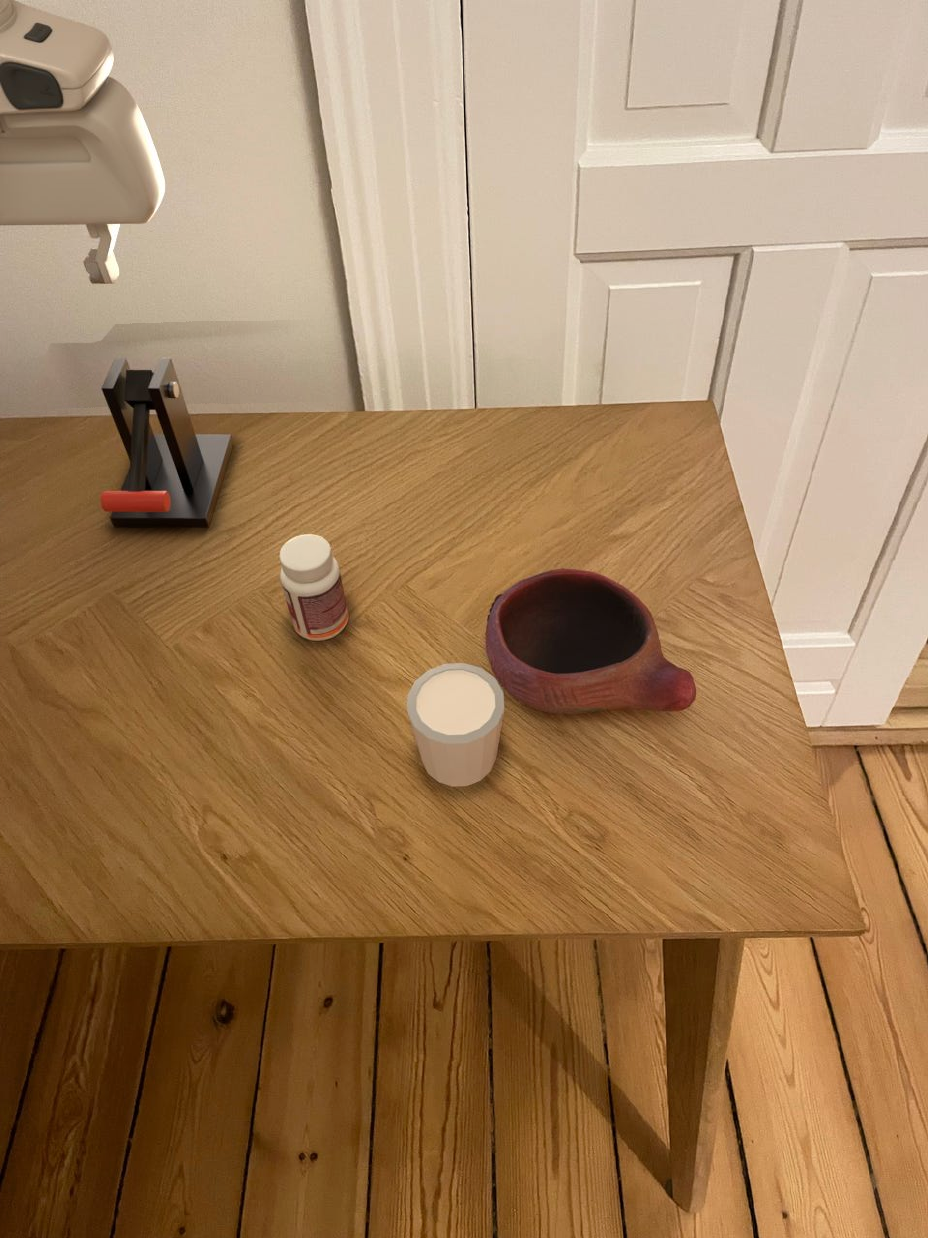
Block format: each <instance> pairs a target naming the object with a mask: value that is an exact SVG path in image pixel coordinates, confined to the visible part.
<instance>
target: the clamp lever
mask: <svg viewBox="0 0 928 1238" xmlns="http://www.w3.org/2000/svg"><path fill="white" fill-rule="evenodd" d="M153 374H154V371H153V370H152V369H130V370H126V381H125V397H124V401H125V402H127V403H128V404H129V405H130V406H131V407H132V408H133V424H132V441H131V457H130V460H129V468H130V474H129V490H128V491H121V490H104V491H102V493H101V495H100V504H101V506H100V507H101V509H102V510H103V512H106V513H112V512H168V511H169V510H170V506H171V499H170V495H169V493H168V492H167V491H145V482H146V465H147V448H148V431H149V423H150V415H151V413H150V412H151V411H155V408H154V405H153V402H152V399H151V397H150V394H149V391H148V387H149V384H150V382H151V379H152V377H153Z"/></svg>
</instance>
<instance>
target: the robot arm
mask: <svg viewBox="0 0 928 1238" xmlns="http://www.w3.org/2000/svg"><path fill="white" fill-rule="evenodd" d="M113 65H114V52H113V48H112V45H111V42H110V40H109V37H108V36H107V35H106V34H105V32H103V31H102V30H101V29H99V28H97V27H94V26H91V25H88V24H85V23H82V22H79V21H75V20H72V19H68V18H65V17H62V16H59V15H56V14H53V13H50V12H47V11H44V10H41V9H38V8H35V7H34V6H30V5H27V4H25V3H22V2H20V1H17V0H0V226H58V225H59V226H65V225H66V226H67V225H68V226H69V225H72V226H75V225H76V226H77V225H78V226H79V225H85V227H86V229H87V231H88V235H89V237H90V238H91V239H99V242H98V246H97V247H95V248H90V250H89V252H88V253H87V255H88V256H86V257H85V259H84V260H83V265H84V269H85V271H86V273H87V274H89V276H88V279H89V282H90V283H91V284H92V285H113V284H115V283H116V282H117V280H118V278H119V276H120V269H119V265H118V262H117V259H116V256H115V253H114V249H115V244H116V241H117V237H118V233H119V229H120V225H144V224H147V223H148V222H150V220H151V219H152V217H154V215H155V213H156V212H157V210H158V209H159V206H160V205H161V203H162V200H163V198H164V196H165V192H166V191H165V190H166V182H165V177H164V173H163V170H162V165H161V162H160V159H159V156H158V153H157V150H156V147H155V145H154V141H153V139H152V136H151V134H150V131H149V129H148V126H147V124H146V121H145V119H144V116H143V114H142V112H141V110H140V107H139V105H138V103H137V102H136V100H135V98H134V97H133V96H132V94H131V93H130V91H129V90H128V89H127V88H126V87H125V85H123V84H122V83H121V82H120V81H118V80H117V79H115V78H113V77H111V76H110V75H109V74H110V72H111V70H112V68H113Z"/></svg>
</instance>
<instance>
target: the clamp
mask: <svg viewBox="0 0 928 1238" xmlns="http://www.w3.org/2000/svg"><path fill="white" fill-rule="evenodd" d="M130 367H131V366H130V365H129V362H128V359H127V357H116V358H114V360H113V362H112V365H111V367H110V369H109V370H108V373H107V376H106V377H105V380H104V381H103V384H102V386H101V392H102V395H103V396H104V399H105V401H106V404H107V407H108V410H109V411H110V414H111V417H112V419H113V422H114V424H115V427H116V429H117V431H118V434H119V436H120V440H121V442H122V445H123V447H124V449H125V452H126V454H127V457H128V460H129V461H130V457H131V441H132V424H133V408H132V407H131V406H130V405H129V404H128V403H127V402H125V401H124V397H125V381H126V370H131V368H130ZM153 373H154V374H153V377H152V379H151V382H150V384H149V387H148V391H149V394H150V397H151V399H152V402H153V405H154V408H155V410H154V411H155V414H156V416H157V420H158V422H159V425H160V427H161V430H162V433H154V431H153V428H152V425H151V423H150V422H149V431H148V448H147V465H146V482H145V491H167V492H168V493H169V495H170V499H171V506H170V510H169V511H168V512H111V513H110V517H109V519H110V522H111V524H112V527H114V528H186V529H187V528H191V529H192V528H195V529H196V528H198V529H199V528H200V529H203V528H204V529H205V528H207V529H208V528H210V525H211V521H212V518H213V515H214V511H215V509H216V504H217V501H218V498H219V494H220V490H221V487H222V484H223V482H224V477H225V474H226V471H227V467H228V464H229V461H230V457H231V454H232V451H233V448H234V444H235V442H234V439H233V435H232V434H231V433H225V434H222V433H212V434H210V433H207V434H206V433H198V434H197V433H195V429H194V426H193V422H192V420H191V416H190V414H189V410H188V407H187V403H186V401H185V397H184V395H183V391H182V388H181V384H180V381H179V378H178V375H177V372H176V370H175V366H174V363H173V360H172V358H171V357H160V358H159V360H158V362H157V365H156V367H155V370H154V371H153ZM129 474H130V467H129V468H128V471H127V473H126V476H125V479H124V481H123V484H122V485H121V487H120V488H121V489H120V491H128V490H129Z"/></svg>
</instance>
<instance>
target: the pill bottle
mask: <svg viewBox="0 0 928 1238" xmlns="http://www.w3.org/2000/svg"><path fill="white" fill-rule="evenodd" d="M279 562H280V565H281V569H280V574H279V579H280V584H281V587H282V591H283V594H284V599H285V601H286V605H287V608H288V612H289V615H290V620H291V622H292V626H293V629H294V630H295V633H297V634H298V635H299V636H301V637H302V638H303V639H306V640H308V641H313V642H314V641H315V642H321V641H327V640H329V639H332V638H334V637H336V636H337V635H339V634H340V633H341V632H342V631H343V630H344V629H345V628H346V626H347V624H348V622H349V610H348V605H347V599H346V595H345V589H344V584H343V580H342V574H341V570H340V566H339V562H338V561H337V560H336V558H335V557H334V555H333V552H332V548H331V545H330V543H329V542H328V540H327V539H325V538H324V537H323V536H321V535H317V534H312V533H307V534H306V533H305V534H300V535H296V536H294V537H292V538H290V539H289V540H287V541H286V542H285V543H284V544H283V545H282V547H281V548H280V551H279Z"/></svg>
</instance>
